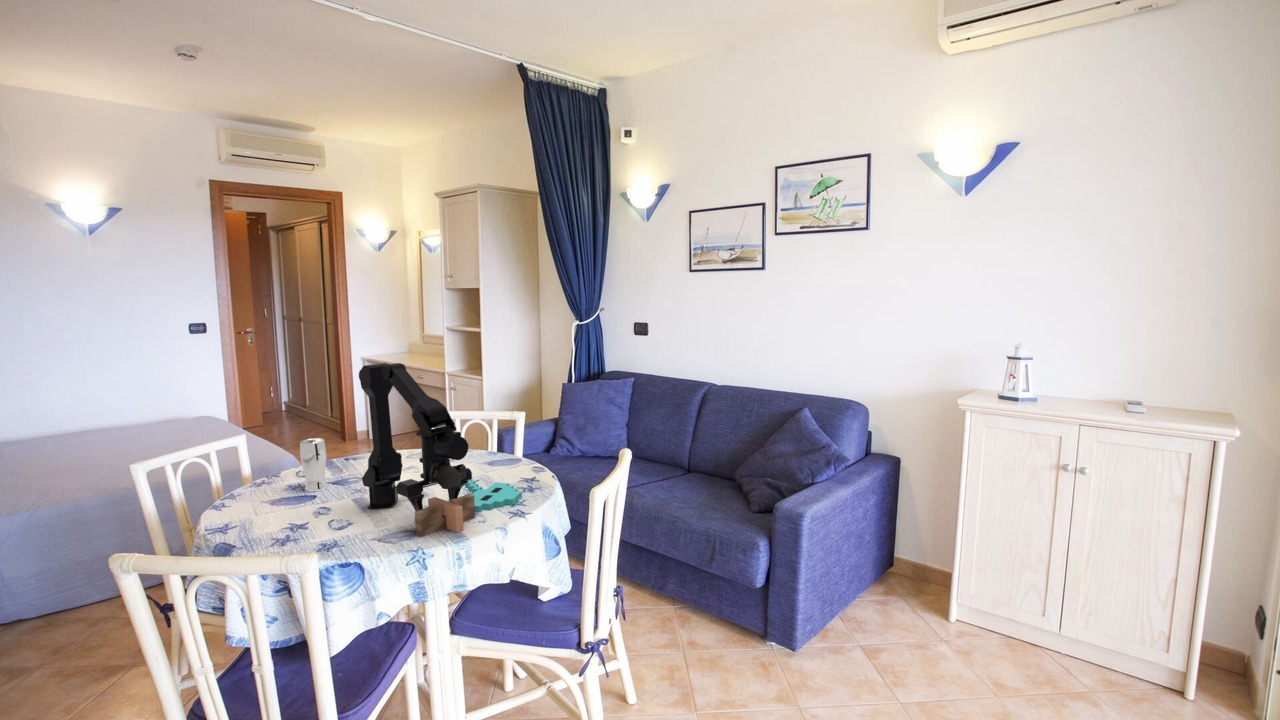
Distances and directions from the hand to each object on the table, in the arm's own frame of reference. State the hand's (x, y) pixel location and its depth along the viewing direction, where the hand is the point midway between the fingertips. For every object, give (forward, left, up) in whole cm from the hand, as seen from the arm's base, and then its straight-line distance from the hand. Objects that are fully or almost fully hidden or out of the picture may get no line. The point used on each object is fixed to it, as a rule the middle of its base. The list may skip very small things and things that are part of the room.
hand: (437, 513), depth 161 cm
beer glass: (-43, +34, -3) cm, 55 cm away
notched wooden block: (+3, -3, -2) cm, 5 cm away
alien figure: (+10, +16, -3) cm, 19 cm away
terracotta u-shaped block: (+3, -3, -2) cm, 4 cm away
